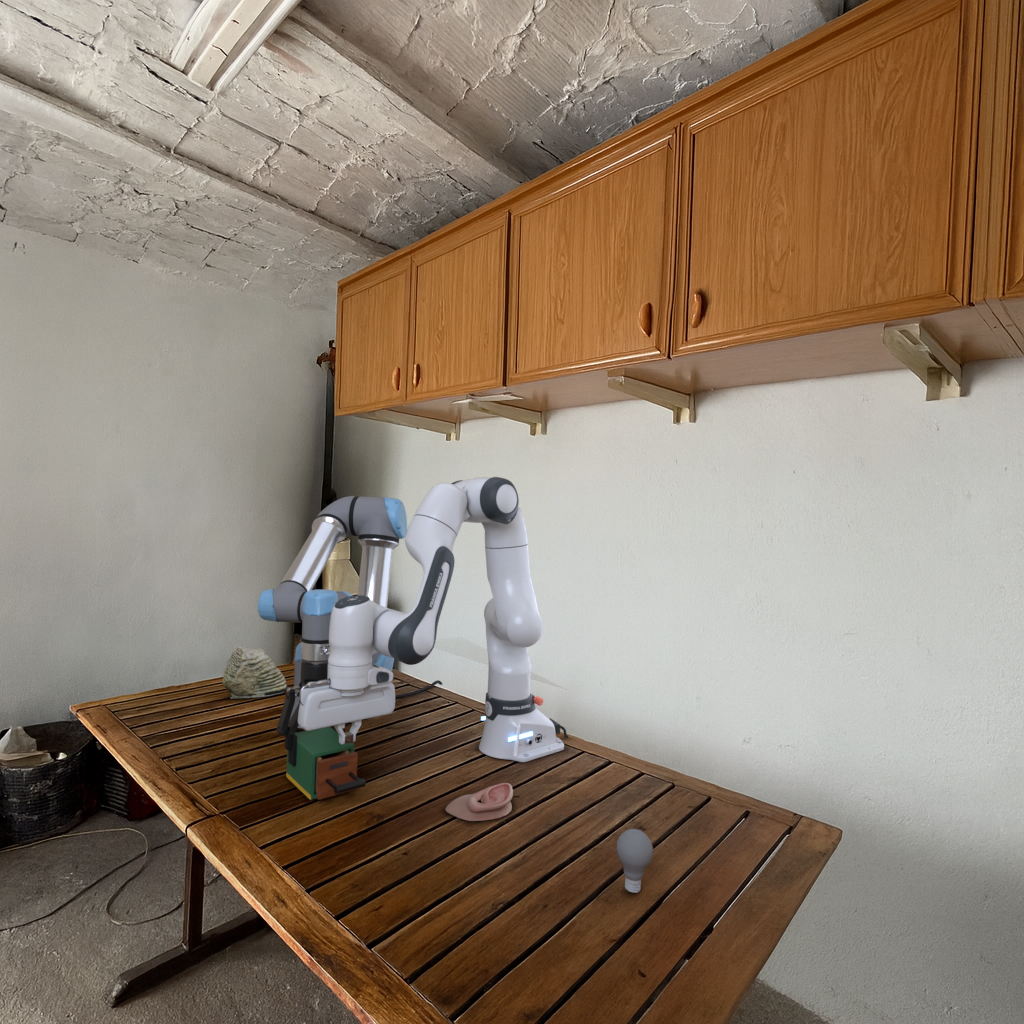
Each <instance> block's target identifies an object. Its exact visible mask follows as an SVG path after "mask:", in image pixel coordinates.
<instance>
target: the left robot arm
mask: <svg viewBox="0 0 1024 1024" xmlns="http://www.w3.org/2000/svg"><path fill="white" fill-rule="evenodd" d="M407 529H408V518H407V511H406V507H405V505H404V502H403V501H402V500H401V499H399V498H397V497H396V498H393V497H387V496H357V495H350V496H344V497H341V498H339V499H337V500H334V501H333V502H331V503H330V504H328V505H327V506H326V507H325V508H324V509H322V510H321V511H320V512H319V513H318V514H317V515H316V517H315V519H314V520H313V522H312V524H311V532H310V533H309V536H308V537H307V539H306V540H305V542H304V544H303V545H302V547H301V549H300V550H299V552H298V554H297V555H296V557H295V559H294V560H293V562H292V563H291V565H290V567H289V568H288V570H287V572H286V573H285V575H284V577H283V578H282V580H281V582H280V583H279V585H278V586H277V588H276V589H275V588H270V589H265V590H263V591H262V592H261V593H260V595H259V598H258V601H257V611H258V615H259V617H260V618H261V619H262V620H264V621H269V622H276V623H297V624H298V623H299V624H300V623H302V624H301V626H302V627H301V642H300V643H298V644H297V645H296V647H295V654H294V659H293V661H294V670H293V671H294V672H293V687H291V686H287V687H286V689H285V691H284V693H285V699H284V702H283V705H282V708H281V713H280V716H279V719H278V722H277V727H276V732H277V733H278V734H279V735H280V736H284V749H285V750H286V752H287V751H289V753H288V762H289V763H290V764H291V765H292V766H296V757H297V735H295V734H294V733H296V732H302V731H306V730H304V729H303V728H302V727H301V726H300V725H299V724H298V713H299V707H300V690H301V689H302V687H303V686H305V685H307V683H308V682H313V681H314V682H316V681H320V680H325V679H327V675H328V674H327V673H328V658H329V655H330V644H329V626H330V618H331V613H332V609H333V607H334V605H335V603H336V602H337V601H339V600H340V599H342V598H345V597H348V596H353V595H352V594H351V593H350V592H349V591H345V590H340V591H338V590H337V591H335V590H333V589H326V588H325V589H323V588H322V589H313V588H314V587H315V585H316V583H317V581H318V579H319V578H320V576H321V574H322V572H323V570H324V569H325V567H326V565H327V563H328V561H329V559H330V557H331V556H332V554H333V552H334V550H335V548H336V546H337V545H339V544H340V543H342V542H343V540H344V539H345V538H346V537H358V539H357V543H358V544H359V545H360V546H361V547H362V551H361V560H360V568H359V578H358V586H357V594H356V596H357V595H362V596H367V597H369V598H370V599H371V600H372V601H373V602H375V603H376V604H378V605H380V606H383V607H386V608H388V600H389V593H390V591H389V590H390V582H391V574H392V573H391V571H392V563H393V555H394V554H393V551H394V550H395V549H396V548H397V547H399V545H400V540H403V539H405V536H406V532H407ZM394 663H395V659H394V658H392V657H389V656H385V655H382V654H380V653H374V654H373V655H372V664H373V665H378V666H381V667H383V668H386V669H388V670H389V671H391V672H392V673H393V668H394ZM437 684H439V685H440V686H442V685H443V681H441V680H435V681H433V682H432V683H430V684H428V685H426V686H423V687H422V688H419V689H416V690H412V691H409V692H405V693H400V694H399V693H398V694H395V699H400V698H406V697H410V696H413V695H417V694H419V693H422V692H424V691H426V690H428V689H431V688H433V687H434V686H435V685H437ZM429 685H431V686H429ZM306 688H308V687H306ZM348 724H349V722H348V723H345V728H342V730H343V732H344V733H346V727H347V726H348ZM329 727H330V728H332V729H333V730H335V731H336V729H335V727H334V726H329ZM336 732H337V731H336Z"/></svg>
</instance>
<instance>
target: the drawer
mask: <svg viewBox="0 0 1024 1024" xmlns="http://www.w3.org/2000/svg"><path fill="white" fill-rule="evenodd" d="M358 754H359V753H357V752H356V751H354V752H352V753H349V751H348V750H344V751H340V752H336V753H332V754H328V755H323V756H319V757H316V761H315V787H314V791H316V792H317V797H316V799H317V800H318V801H321V800H324V799H327V798H331V797H335V796H338V795H341V794H344V793H348V792H352V791H355V790H357V789H361V788H364V787H366V779H365V778H359V777H358V756H359V755H358Z"/></svg>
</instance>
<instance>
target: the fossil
mask: <svg viewBox="0 0 1024 1024" xmlns="http://www.w3.org/2000/svg"><path fill="white" fill-rule="evenodd" d="M222 676H223V677H222V685H223V687H224V688H225V690H226V691H228V693H229V698H230V699H250V698H264V697H271V696H275V695H281V694H284V693H285V689H286V688H287V687H288V686H287V680H286V678H285V676H284V674H283V673H282V672H281V669H279V668H278V667H277V665H276V663H275V662H274V660H273V659H272V658H271V657H270V656H269V655H268V654H267V653H266V652H265V650H264V649H263V648H260V647H258V648H251V647H247V646H246V647H245V646H238V647H237V648H236V649H235V650H233V651H232V653H231V656H230V657H229V659H228V660H227V663H226V666H225V668H224V671H223V675H222Z"/></svg>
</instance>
